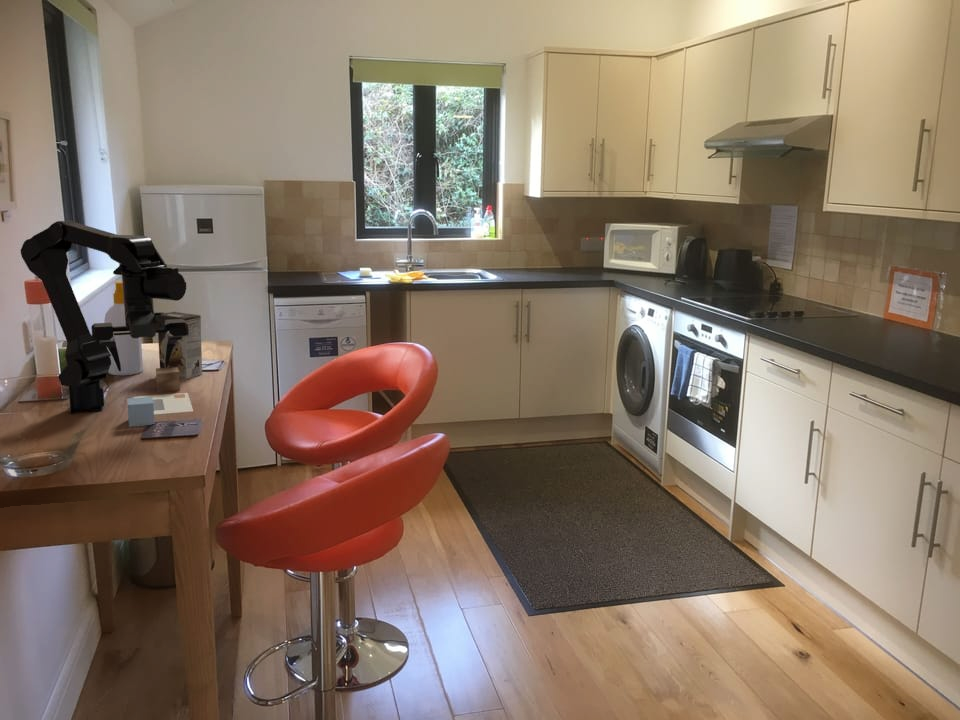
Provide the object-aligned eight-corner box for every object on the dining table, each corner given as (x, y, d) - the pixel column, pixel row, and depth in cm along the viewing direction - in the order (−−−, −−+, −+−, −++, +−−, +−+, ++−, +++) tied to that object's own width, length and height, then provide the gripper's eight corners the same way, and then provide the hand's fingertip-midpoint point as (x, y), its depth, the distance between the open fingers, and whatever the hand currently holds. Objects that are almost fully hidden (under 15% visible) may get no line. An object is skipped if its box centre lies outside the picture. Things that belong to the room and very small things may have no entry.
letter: (135, 416, 179) (135, 415, 179) (133, 397, 194) (133, 396, 194) (193, 411, 184) (193, 411, 184) (187, 393, 198) (187, 392, 198)
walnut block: (158, 393, 198) (156, 373, 197) (157, 388, 202) (155, 368, 201) (180, 391, 200) (179, 371, 199) (178, 386, 204) (177, 367, 203)
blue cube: (129, 427, 172) (127, 404, 171) (128, 421, 177) (127, 398, 176) (154, 425, 174) (153, 403, 173) (153, 419, 179) (152, 396, 178)
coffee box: (158, 375, 214) (155, 314, 210) (176, 370, 220) (173, 310, 216) (186, 379, 211) (183, 317, 207) (203, 374, 217) (201, 314, 213)
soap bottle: (149, 373, 216) (144, 283, 210) (111, 377, 210) (104, 285, 205) (142, 366, 222) (136, 279, 217) (104, 370, 217) (98, 280, 212)
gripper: (90, 305, 161) (96, 381, 164) (190, 300, 169) (194, 374, 172) (88, 296, 171) (94, 369, 174) (183, 293, 179) (187, 362, 182)
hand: (143, 369), depth 175 cm, fingers open, 9 cm apart
